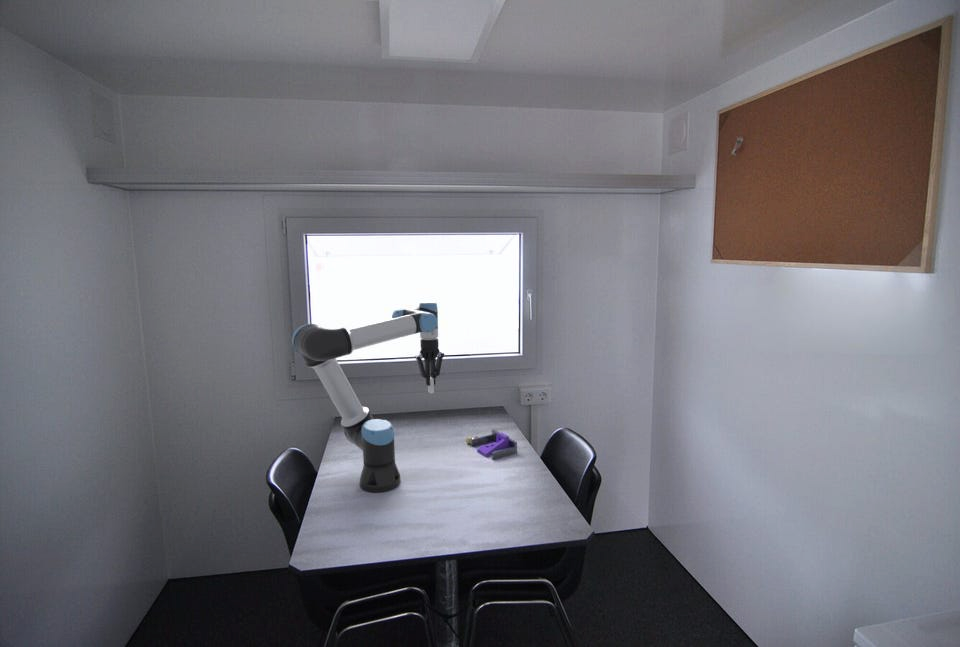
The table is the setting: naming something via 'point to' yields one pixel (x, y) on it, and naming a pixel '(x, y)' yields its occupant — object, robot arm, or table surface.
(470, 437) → the brass key
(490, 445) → the bracket
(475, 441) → the dock
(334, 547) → the table surface
